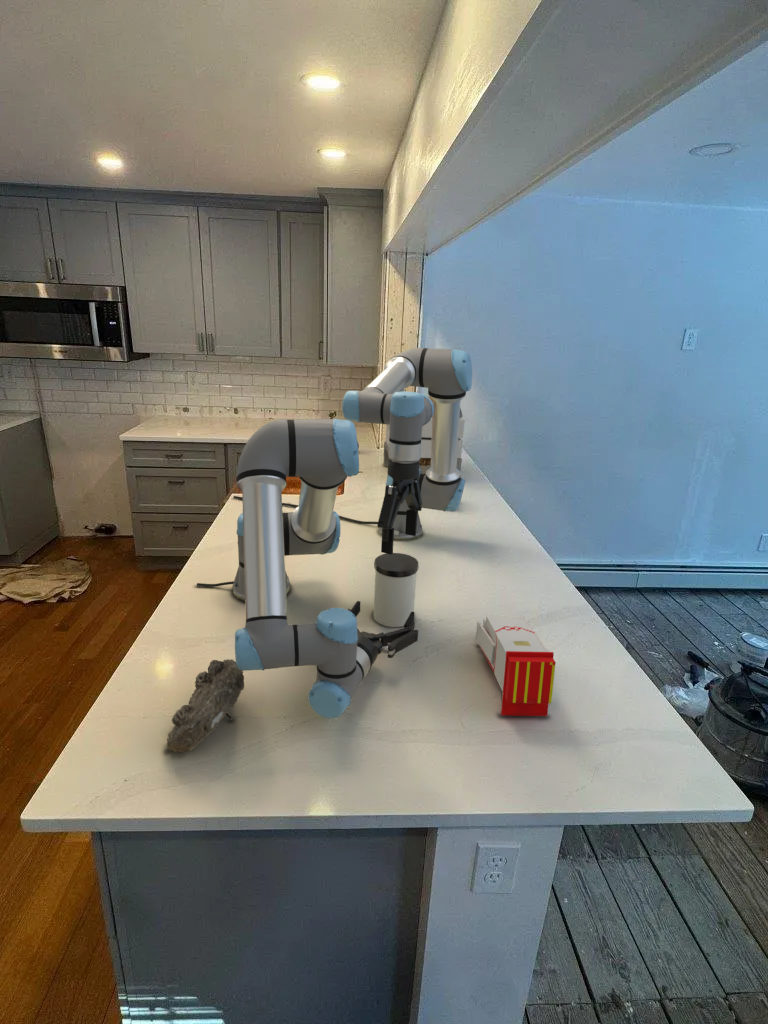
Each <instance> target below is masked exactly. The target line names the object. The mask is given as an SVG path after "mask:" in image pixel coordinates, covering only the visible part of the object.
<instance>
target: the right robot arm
mask: <svg viewBox="0 0 768 1024" xmlns="http://www.w3.org/2000/svg"><path fill="white" fill-rule="evenodd" d="M472 363H473V362H472V359H471V355H470V354H469V352H467V351H466V350H459V349H455V348H452V349H451V348H429V347H414V348H410V349H407V350H404V351H402V352H399V353H397V354H395V355H393V357H391V358H390V359H389V360H388V361H387V362H386V363H385V365H384V367H383V370H382V371H381V372H380V373H379V374H378V375H377V376H376V377H375V378H374V379H373V380H372V381H371V382H370V383H369V384H367V385H366V387H364V388H363V390H357V389H356V390H347V391H346V392H345V394H344V396H343V398H342V406H341V408H342V410H341V411H342V416H343V417H344V420H349V421H351V422H356V423H366V424H377V425H386V426H387V425H390V431H389V443H388V447H389V454H388V457H389V458H390V459H389V460H388V467H387V470H386V472H387V475H386V482H385V490H384V496H383V501H382V506H381V508H380V513H379V516H378V521H365V520H358V519H354V518H349V517H345V516H342V515H339V514H338V516H339V519H340V520H343V521H347V522H352V523H355V524H361V525H376V526H377V528H378V533H379V534H380V535H381V547H380V548H381V550H380V552H381V553H383V554H390V555H392V554H393V553H394V540H395V541H410V540H415V539H418V538H420V537H421V536H422V535H423V525H422V524H421V518H420V515H419V512H422V509H428V510H436V511H443V512H452V513H454V512H456V511H458V510H459V508H460V504H461V501H462V498H463V493H464V489H465V484H466V479H465V478H463V477H461V475H462V473H460V471H459V470H458V469H457V468H456V467H457V450H458V434H459V417H460V408H461V401H462V400H463V399H465V397H466V395H467V392H469V391H471V389H472V385H473V365H472ZM409 387H417V388H425V389H427V391H428V392H427V395H425V394H422V393H420V392H416V391H407V390H406V389H407V388H409ZM402 389H404V390H406V391H402V392H400V391H401V390H402ZM428 397H431V398H432V399H433V403H432V401H431V399H430V398H428ZM431 418H432V439H431V465H430V466H429V468H428V469H427V470H426V471H425V473H422V469H421V466H420V462H419V461H418V460H419V459H420V458H421V437H422V426H424V425H426V424H427V423H428V422H429V421H430V420H431ZM233 499H237V500H242V496H238V495H237V496H236V495H233ZM282 506H286V507H292V508H297V507H298V506H299V504H293V503H287V502H282Z"/></svg>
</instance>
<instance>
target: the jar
mask: <svg viewBox="0 0 768 1024" xmlns="http://www.w3.org/2000/svg"><path fill="white" fill-rule="evenodd" d="M374 570H375V569H374ZM417 572H418V571H417ZM417 572H416V573H415V574H413V575H411V576H407V577H389V576H385V575H382V574H380V573H378V572H377V571H376V570H375V573H374V592H373V593H374V595H373V619H374V621H375V622H377V623H378V624H380V625H382V626H385V627H391V628H401V627H404V624H405V622H406V620H407V619H408V617H409V615H410V613H411V612H415V600H416V587H417V586H416V585H417Z"/></svg>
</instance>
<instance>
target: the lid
mask: <svg viewBox="0 0 768 1024" xmlns="http://www.w3.org/2000/svg"><path fill="white" fill-rule="evenodd" d="M373 567H374V570H376V571H377V572H378V573H380V574H382V575H385V576H389V577H407V576H411V575H413V574H415V573H416V572H418V571H419V561H418V559H417V558H416V557H414V556H411V555H410V554H407V553H402V552H401V553H400V552H393V554H392V555H390V554H386V553H383V554H380V555H377V557H375V559H374V562H373ZM416 574H417V573H416Z"/></svg>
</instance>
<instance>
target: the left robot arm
mask: <svg viewBox="0 0 768 1024" xmlns="http://www.w3.org/2000/svg"><path fill="white" fill-rule="evenodd" d="M357 441H358V436H357V429H356V425H355V423H354V421H350V420H347V419H340V418H339V419H338V418H325V419H324V418H314V419H287V418H286V419H285V418H280V419H275V420H271V421H269V422H266V423H265V424H263V425H262V426H261V427H259V428H258V429H256V431H255V432H254V433H253V434H252V435H251V436H250V437H249V439H248V441H246V443H245V445H244V447H243V449H242V451H241V453H240V456H239V459H238V462H237V467H236V488H237V489H238V490H239V491H240V492H241V493H242V495H241V497H242V499H241V500H242V512H241V513H240V514H239V515H238V517H237V521H236V535H237V553H238V566H237V567H238V568H237V571H236V574H235V578H234V580H233V581H225V582H218V583H201V582H197V583H196V586H197V587H208V588H215V587H220V586H228V585H232V592H233V595H234V596H235V598H237V599H239V600H240V601H243V602H244V606H245V607H244V608H245V609H244V610H245V613H244V614H245V625H244V627H243V628H242V627H241V628H238V629H236V630H235V632H234V656H235V662H236V665H237V667H238V668H239V669H240V670H242V671H243V672H245V671H265V670H272V669H281V668H292V667H306V666H307V667H308V666H316V680H315V682H313V684H311V685H312V686H311V688H310V690H309V692H308V696H307V697H308V699H307V700H308V704H309V706H310V708H311V709H312V711H313V712H314V713H315V714H317V715H318V716H320V717H322V718H326V719H330V720H331V719H332V720H333V719H336V718H340V716H342V715H343V714H344V713H345V711H346V710H347V708H348V707H350V706H351V703H352V700H353V698H354V697H355V695H356V694H357V691H358V690H359V688H360V686H361V685H362V683H363V681H364V680H365V678H366V676H367V675H368V673H369V671H370V669H371V668H372V667H373V664H374V663H375V661H376V659H377V657H378V655H380V654H382V653H383V654H386V655H387V658H388V659H392V658H394V657H395V656H396V654H398V653H399V652H401V651H403V650H404V649H406V648H408V647H411V645H414V644H415V643H417V642H418V640H419V630H418V629H415V628H416V621H415V613H416V612H415V611H414V612H411V613H410V615H409V617H408V619H407V620H406V622H405V624H404V626H403V627H402V628H399V629H395V630H392V631H388V632H383V631H382V632H379V633H372V632H367V631H363V630H362V631H360V630H359V628H358V619H357V616H359V614H360V612H361V605H362V603H361V601H360V600H357V601H356V602H355V603H354V605H353V606H352V608H348V609H346V608H342V607H329V608H328V609H324V610H322V611H320V612H319V613H318V615H317V616H316V621H315V622H311V623H309V622H308V623H298V624H296V623H295V624H289V623H288V605H287V604H288V603H287V595H288V594H289V592H290V589H291V586H290V585H291V584H290V583H291V582H290V578H289V576H288V574H287V571H286V561H285V558H286V557H287V556H306V555H326V554H333V553H335V552H336V551H337V550H338V548H339V545H340V541H341V540H340V538H341V519H340V518H339V516H340V515H339V514H338V513H337V511H335V510H334V509H335V508H334V507H335V503H336V499H337V494H338V489H339V487H340V486H341V485H343V483H345V481H346V480H347V478H348V477H349V478H351V477H353V476H357V475H358V474H359V473H360V457H359V449H358V444H359V442H358V443H357ZM287 478H299V480H300V489H299V497H298V498H299V499H298V505H299V506H298V507H295V509H294V510H293V511H287V512H283V505H282V503H283V495H282V494H283V493H282V491H283V490H284V489H285V488H287ZM338 515H339V516H338ZM285 556H286V557H285Z"/></svg>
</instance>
